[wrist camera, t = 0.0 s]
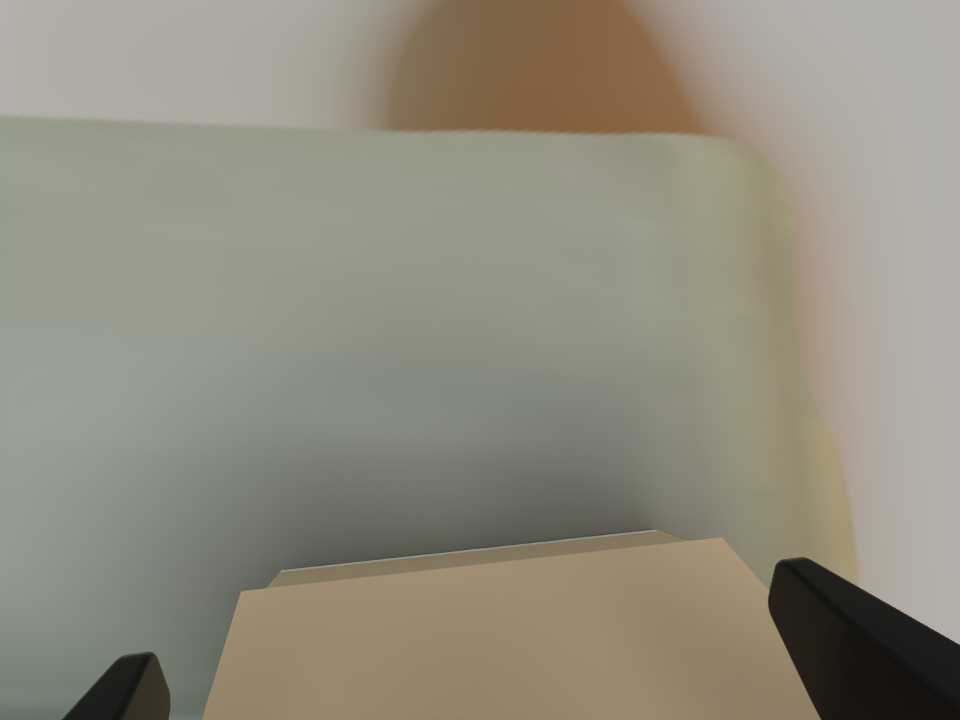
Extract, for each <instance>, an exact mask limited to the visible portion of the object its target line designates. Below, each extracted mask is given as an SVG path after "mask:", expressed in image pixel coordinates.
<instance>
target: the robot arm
mask: <svg viewBox="0 0 960 720" xmlns="http://www.w3.org/2000/svg"><path fill="white" fill-rule="evenodd" d="M768 608H769V612H770V615H771V617H772V620H773V622H774V624H775V626H776V628H777V630H778V632H779V634H780V636H781V639H782V641H783V643H784V645H785V647H786V649H787V651H788V653H789V655H790V658H791V660H792V662H793V664H794V666H795V668H796V670H797V672H798V674H799V677H800V679H801V681H802V683H803V685H804V687H805V689H806V691H807V693H808V696H809V698H810V700H811V702H812V703H813V705H814V707H815V709H816V711H817V713H818V715H819V717H820V719H821V720H960V645H959V644H957V643H955V642H954V641H952V640H950V639H949V638H947V637H945V636H943V635H941V634H940V633H938V632H936V631H935V630H933V629H931V628H929V627H928V626H926V625H924V624H922V623H920V622H919V621H917V620H915V619H913V618H912V617H910V616H908V615H907V614H905V613H903V612H901V611H900V610H898V609H896V608H894V607H892V606H891V605H889V604H887V603H885V602H883V601H882V600H880V599H878V598H877V597H875V596H873V595H871V594H870V593H868V592H866V591H865V590H863V589H861V588H859V587H858V586H856V585H854V584H852V583H851V582H849V581H847V580H845V579H844V578H842V577H840V576H838V575H837V574H835V573H833V572H831V571H830V570H828V569H826V568H824V567H823V566H821V565H819V564H817V563H816V562H814V561H812V560H810V559H808V558H805V557H798V558H791V559H784V560H780V561H779V562H778V563H777V564H776V566H775V570H774V574H773V578H772V582H771V587H770V591H769V595H768ZM169 713H170V692H169V689H168V686H167V683H166V680H165V677H164V675H163V672H162V669H161V666H160V663H159V660H158V658H157V656H156V655H155V654H154V653H153V652H143V653H136V654H129V655H124V656H122V657H120V658H119V659H117V660H116V661H115V662H114V663H113V664H112V665H111V666H110V667H109V669H108V670H107V671H106V672H105V673H104V674H103V675H102V676H101V677H100V678H99V679H98V681H97V682H96V683H95V684H94V685H93V686H92V687H91V688H90V689H89V690H88V691H87V692H86V694H85V695H84V696H83V697H82V698H81V699H80V700H79V701H78V702H77V703H76V704H75V706H74V707H73V708H72V709H71V710H70V711H69V712H68V713H67V714H66V715H65V716H64V718H63V719H62V720H168V719H169Z"/></svg>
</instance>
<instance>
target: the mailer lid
mask: <svg viewBox="0 0 960 720" xmlns="http://www.w3.org/2000/svg"><path fill="white" fill-rule="evenodd" d="M768 595H769V590H768V589H767V588H766V587H765V586H764V585H763V583H762V582H761V581H760V580H759V579H758V578H757V577H756V575H755V574H754V573H753V572H752V571H751V570H750V569H749V567H748V566H747V565H746V564H745V563H744V562H743V561H742V559H741V558H740V557H739V556H738V555H737V554H736V553H735V551H734V550H733V549H732V548H731V547H730V546H729V545H728V543H727V542H726V541H725V540H724V539H723V538H722V537H720V538H711V539H702V540H693V541H684V542H675V543H666V544H657V545H649V546H640V547H631V548H622V549H613V550H604V551H595V552H586V553H577V554H568V555H559V556H550V557H541V558H533V559H524V560H515V561H506V562H497V563H488V564H479V565H470V566H461V567H452V568H443V569H434V570H425V571H417V572H408V573H399V574H390V575H381V576H372V577H363V578H354V579H345V580H336V581H327V582H318V583H309V584H301V585H292V586H283V587H274V588H265V589H256V590H247V591H241V593H240V596H239V600H238V603H237V606H236V609H235V613H234V616H233V619H232V622H231V626H230V629H229V632H228V635H227V639H226V642H225V645H224V648H223V652H222V655H221V658H220V662H219V665H218V668H217V671H216V675H215V678H214V681H213V684H212V688H211V691H210V694H209V697H208V701H207V704H206V707H205V710H204V714H203V717H202V720H821V719H820V717H819V715H818V713H817V711H816V709H815V707H814V705H813V703H812V702H811V700H810V698H809V696H808V693H807V691H806V689H805V687H804V685H803V683H802V681H801V679H800V677H799V674H798V672H797V670H796V668H795V666H794V664H793V662H792V660H791V658H790V655H789V653H788V651H787V649H786V647H785V645H784V643H783V641H782V639H781V636H780V634H779V632H778V630H777V628H776V626H775V624H774V622H773V620H772V617H771V615H770V612H769V608H768Z"/></svg>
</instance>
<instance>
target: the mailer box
mask: <svg viewBox="0 0 960 720" xmlns="http://www.w3.org/2000/svg"><path fill="white" fill-rule="evenodd" d="M684 541H687V540H684V539H682V538H679V537H676V536H673V535H670V534H667V533H665V532H662V531H659V530H646V531H637V532H628V533H619V534H610V535H600V536H591V537H582V538H573V539H564V540H554V541H545V542H536V543H527V544H518V545H509V546H499V547H490V548H481V549H472V550H463V551H453V552H444V553H435V554H426V555H417V556H407V557H398V558H389V559H380V560H371V561H361V562H352V563H343V564H334V565H325V566H316V567H306V568H297V569H288V570H281V572H280V573H279V574H278V575H277V576H276V577H275V578H274V580H273V581H272V582H271V583H270V584H269V585H268V586H267V587H266V588H274V587H283V586H292V585H301V584H309V583H318V582H327V581H336V580H345V579H354V578H363V577H372V576H381V575H390V574H399V573H408V572H417V571H425V570H434V569H443V568H452V567H461V566H470V565H479V564H488V563H497V562H506V561H515V560H524V559H533V558H541V557H550V556H559V555H568V554H577V553H586V552H595V551H604V550H613V549H622V548H631V547H640V546H649V545H657V544H666V543H675V542H684Z"/></svg>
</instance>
